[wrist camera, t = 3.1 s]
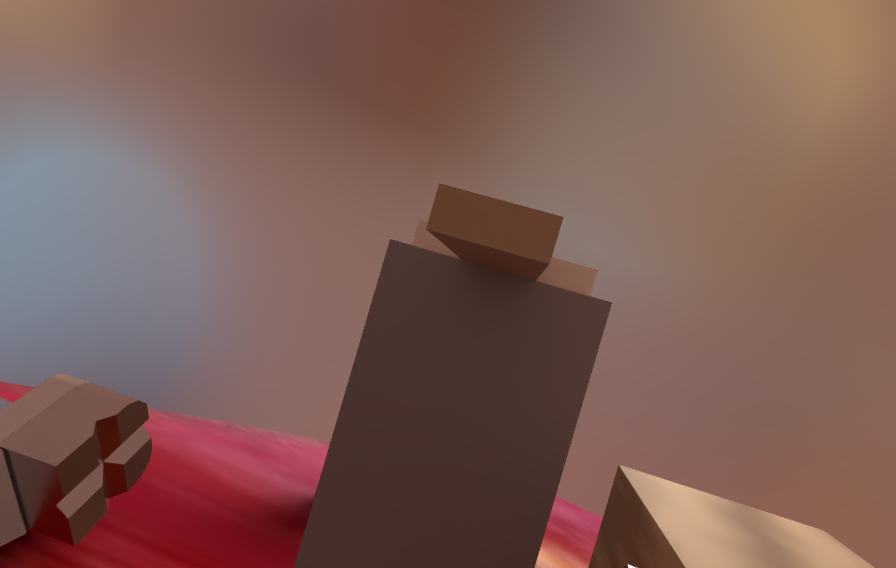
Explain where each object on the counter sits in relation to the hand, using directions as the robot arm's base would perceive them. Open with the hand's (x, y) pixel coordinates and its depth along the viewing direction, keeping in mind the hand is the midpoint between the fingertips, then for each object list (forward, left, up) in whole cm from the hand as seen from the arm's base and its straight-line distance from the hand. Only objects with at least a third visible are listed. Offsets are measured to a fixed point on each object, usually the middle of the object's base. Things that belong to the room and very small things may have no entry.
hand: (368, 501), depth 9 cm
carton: (0, +28, -21) cm, 35 cm away
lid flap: (0, +21, +5) cm, 22 cm away
